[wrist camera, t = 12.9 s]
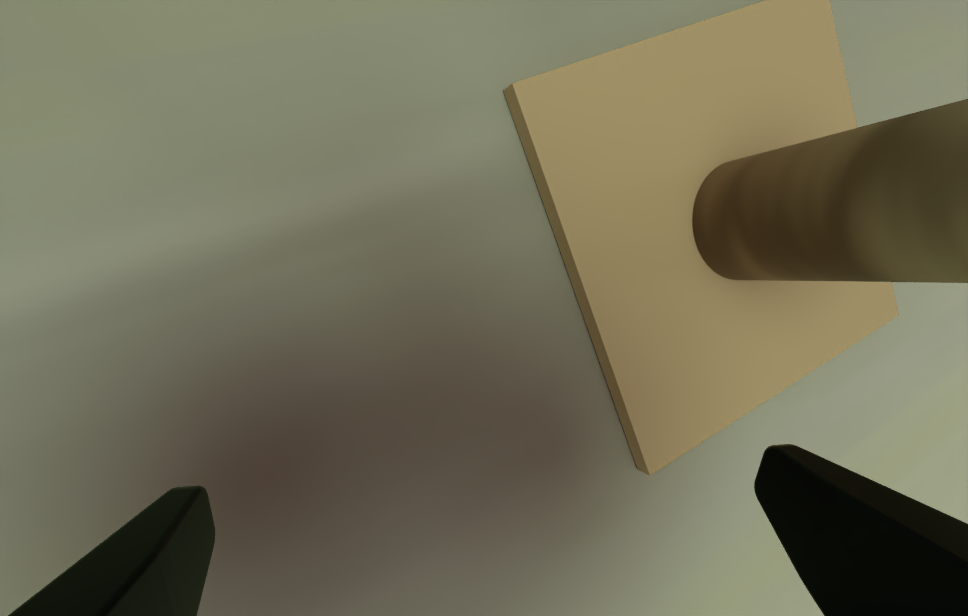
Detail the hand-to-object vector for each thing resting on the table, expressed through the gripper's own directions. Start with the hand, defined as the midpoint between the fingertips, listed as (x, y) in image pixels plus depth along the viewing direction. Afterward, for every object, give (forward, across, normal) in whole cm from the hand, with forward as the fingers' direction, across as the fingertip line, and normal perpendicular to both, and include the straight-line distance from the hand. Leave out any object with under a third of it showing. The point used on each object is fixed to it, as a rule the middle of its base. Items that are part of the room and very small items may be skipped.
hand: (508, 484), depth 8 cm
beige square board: (+14, -12, -1) cm, 19 cm away
